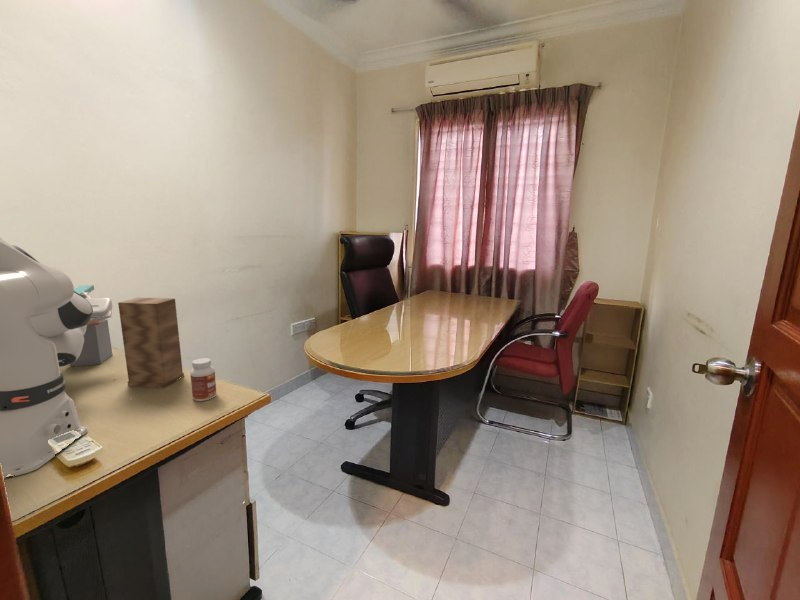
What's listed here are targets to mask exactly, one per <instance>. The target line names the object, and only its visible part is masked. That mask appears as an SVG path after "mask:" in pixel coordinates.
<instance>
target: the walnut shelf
mask: <svg viewBox="0 0 800 600" xmlns="http://www.w3.org/2000/svg"><path fill="white" fill-rule="evenodd" d="M117 305H118V314H119V317H120V326H121V334H122V340H123V343H122V344H123V347H124V348H123V349H124V355H125V363H126V370H127V378H128V381H127V382H126V383H127V386H128V387H142V388H143V387H145V388H146V387H148V388H149V387H150V388H163V389H164V388H167V387H169V386H170V385H172V384H173V382H174V383H175V382H176V380H177V379H178V380H180V379H181V378H180V377H182V376H183V377H185V372H183V362H182V361H183V360H182V354H181V353H182V352H181V343H180V334H179V332H180V331H179V322H178V316H177V315H178V313H177V304H176V298H165V297H136V298H132V299H127V300H123V301H119V302H117ZM183 377H182V378H183ZM179 378H180V379H179ZM178 380H177V381H178ZM168 385H169V386H168Z"/></svg>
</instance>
